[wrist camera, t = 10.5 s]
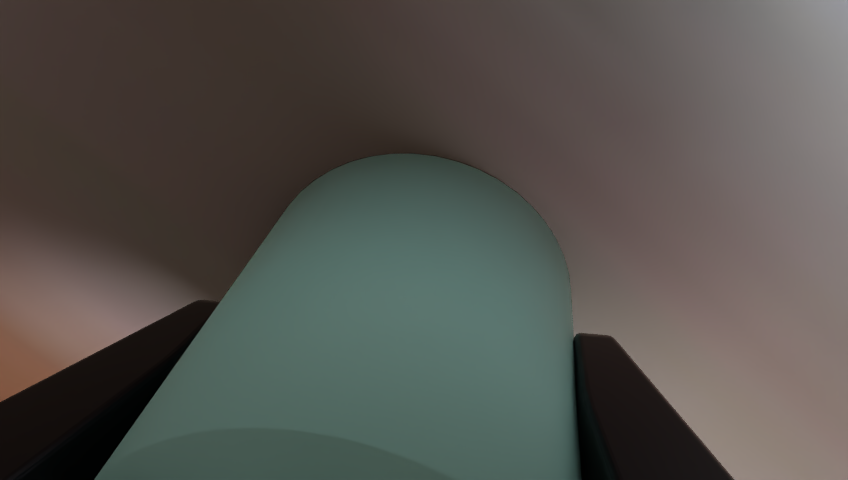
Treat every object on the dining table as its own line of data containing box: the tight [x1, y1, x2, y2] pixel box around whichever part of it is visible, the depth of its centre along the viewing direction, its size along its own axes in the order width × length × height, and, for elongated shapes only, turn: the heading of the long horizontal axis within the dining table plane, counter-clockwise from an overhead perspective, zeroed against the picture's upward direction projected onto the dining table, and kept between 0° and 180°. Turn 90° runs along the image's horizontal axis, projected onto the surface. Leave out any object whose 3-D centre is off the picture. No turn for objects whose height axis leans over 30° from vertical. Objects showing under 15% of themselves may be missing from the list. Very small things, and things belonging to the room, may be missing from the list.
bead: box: [94, 154, 582, 480], centre depth 7 cm, size 4×4×4 cm
